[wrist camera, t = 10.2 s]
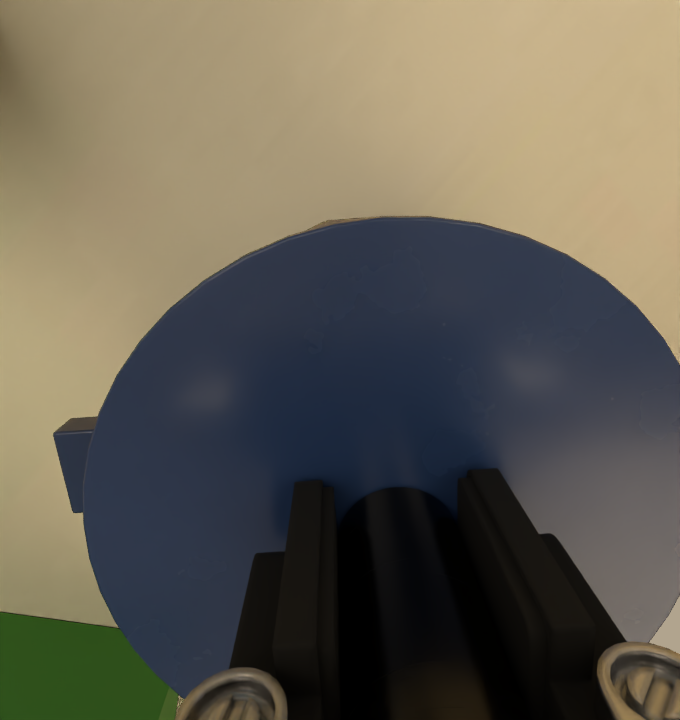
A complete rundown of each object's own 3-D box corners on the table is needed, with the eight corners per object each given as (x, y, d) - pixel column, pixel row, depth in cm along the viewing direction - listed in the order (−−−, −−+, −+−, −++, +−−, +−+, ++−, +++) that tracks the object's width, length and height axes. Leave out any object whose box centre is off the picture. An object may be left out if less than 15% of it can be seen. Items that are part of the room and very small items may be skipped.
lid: (45, 239, 10) (-401, 294, 4) (713, 191, 10) (1312, 173, 4) (158, 735, 13) (20, 1156, 7) (644, 703, 13) (893, 1103, 7)
